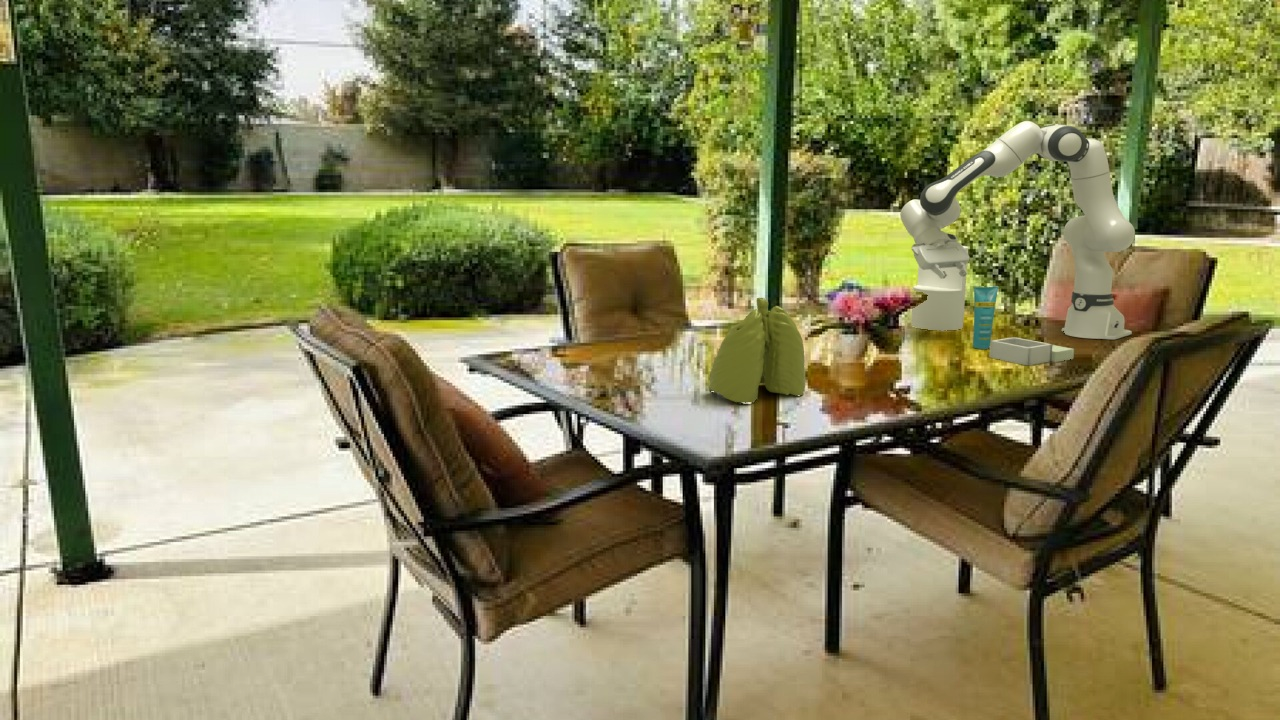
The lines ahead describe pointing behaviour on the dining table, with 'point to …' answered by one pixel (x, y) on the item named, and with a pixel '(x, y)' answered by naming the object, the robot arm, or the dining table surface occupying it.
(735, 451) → the dining table surface
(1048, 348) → the grey open tray
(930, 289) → the white chair
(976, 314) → the tube
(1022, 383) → the dining table surface
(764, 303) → the lungs
